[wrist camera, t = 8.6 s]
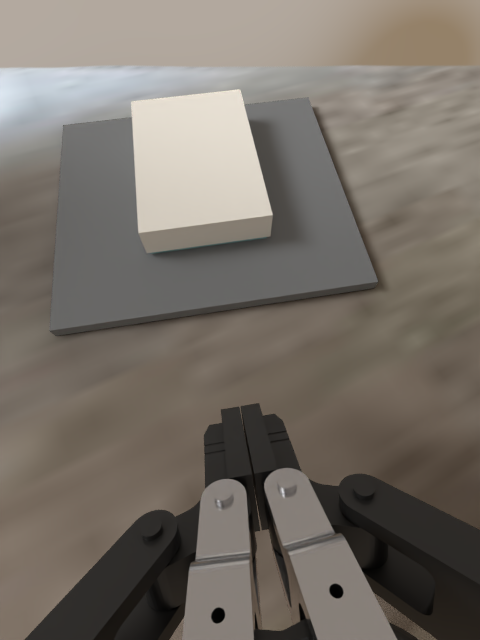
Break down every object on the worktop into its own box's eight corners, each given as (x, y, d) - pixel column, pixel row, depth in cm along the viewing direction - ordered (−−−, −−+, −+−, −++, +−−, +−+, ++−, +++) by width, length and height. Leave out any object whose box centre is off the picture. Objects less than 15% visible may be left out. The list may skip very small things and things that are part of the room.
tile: (138, 233, 21) (130, 101, 26) (148, 257, 23) (139, 131, 28) (272, 215, 21) (240, 89, 26) (269, 240, 23) (240, 119, 28)
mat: (55, 335, 21) (49, 330, 21) (67, 134, 29) (63, 125, 28) (374, 288, 23) (378, 281, 22) (306, 106, 30) (308, 97, 29)
